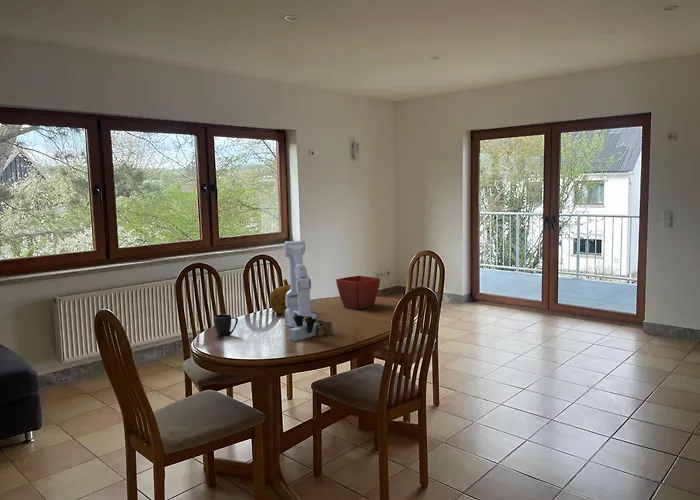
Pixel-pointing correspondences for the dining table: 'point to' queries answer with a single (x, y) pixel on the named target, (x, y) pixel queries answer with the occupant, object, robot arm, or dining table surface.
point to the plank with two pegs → (324, 327)
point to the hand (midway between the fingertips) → (305, 331)
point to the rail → (302, 332)
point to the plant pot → (358, 291)
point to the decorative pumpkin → (279, 298)
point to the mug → (223, 324)
